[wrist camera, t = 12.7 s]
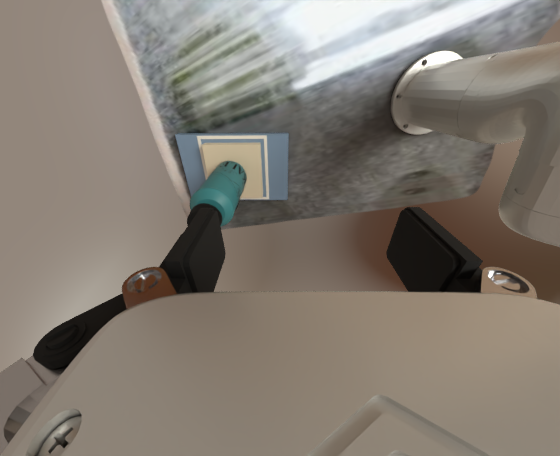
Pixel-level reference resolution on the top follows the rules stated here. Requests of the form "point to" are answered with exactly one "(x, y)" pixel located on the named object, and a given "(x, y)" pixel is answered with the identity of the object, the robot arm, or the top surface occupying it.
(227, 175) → the beverage bottle
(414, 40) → the top surface
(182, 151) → the board
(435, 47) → the top surface
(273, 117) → the top surface
